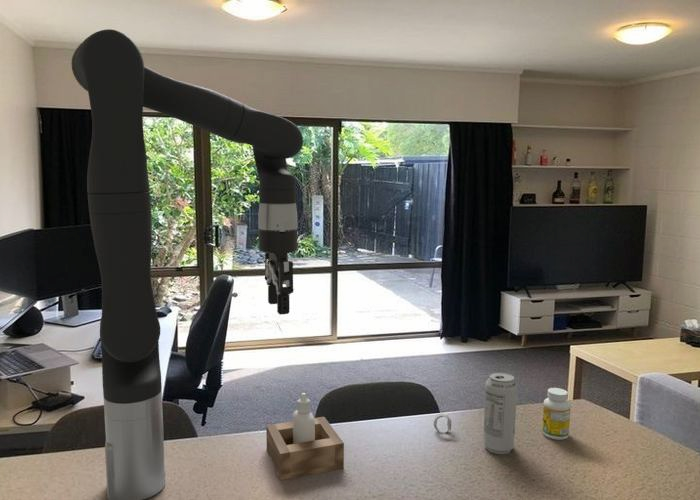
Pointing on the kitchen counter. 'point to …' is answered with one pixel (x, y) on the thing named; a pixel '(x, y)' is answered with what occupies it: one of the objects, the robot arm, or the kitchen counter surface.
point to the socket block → (304, 450)
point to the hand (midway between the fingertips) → (278, 308)
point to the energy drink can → (500, 413)
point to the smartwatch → (447, 422)
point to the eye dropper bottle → (303, 422)
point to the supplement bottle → (556, 414)
